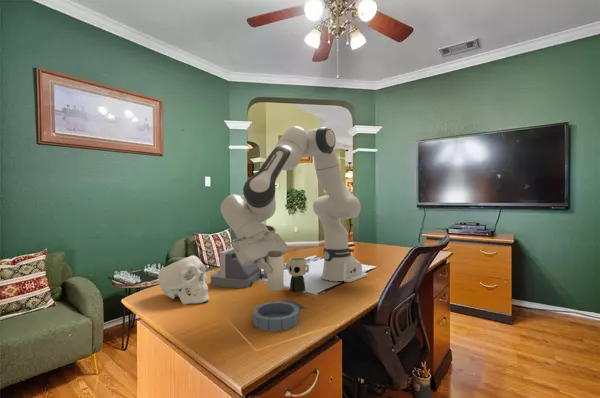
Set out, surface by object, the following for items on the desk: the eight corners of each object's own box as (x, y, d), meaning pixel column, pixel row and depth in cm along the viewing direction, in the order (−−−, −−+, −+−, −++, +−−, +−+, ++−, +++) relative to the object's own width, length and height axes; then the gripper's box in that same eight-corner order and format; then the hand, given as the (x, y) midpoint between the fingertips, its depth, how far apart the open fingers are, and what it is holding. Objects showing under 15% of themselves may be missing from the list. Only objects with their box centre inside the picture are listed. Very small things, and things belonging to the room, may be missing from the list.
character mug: (281, 290, 116) (281, 259, 116) (291, 285, 122) (290, 255, 122) (304, 295, 111) (304, 262, 111) (313, 289, 117) (312, 258, 117)
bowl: (284, 309, 97) (284, 298, 97) (307, 324, 85) (307, 312, 85) (246, 318, 90) (246, 307, 90) (265, 337, 78) (265, 324, 78)
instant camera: (232, 273, 145) (232, 243, 144) (268, 277, 137) (268, 246, 137) (204, 285, 125) (203, 251, 125) (244, 290, 117) (244, 254, 117)
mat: (290, 300, 105) (290, 299, 105) (305, 308, 97) (305, 307, 97) (266, 306, 100) (266, 304, 100) (280, 315, 92) (280, 314, 92)
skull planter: (195, 305, 96) (177, 253, 100) (162, 322, 105) (146, 273, 109) (224, 292, 109) (207, 247, 113) (192, 309, 117) (177, 266, 121)
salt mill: (278, 284, 91) (278, 249, 91) (286, 288, 87) (286, 252, 87) (264, 287, 88) (264, 251, 88) (272, 291, 84) (271, 254, 84)
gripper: (234, 232, 82) (260, 271, 77) (276, 226, 99) (300, 257, 94) (223, 246, 85) (248, 284, 79) (266, 238, 102) (289, 268, 97)
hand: (277, 269), depth 87 cm, fingers closed on salt mill, 5 cm apart
